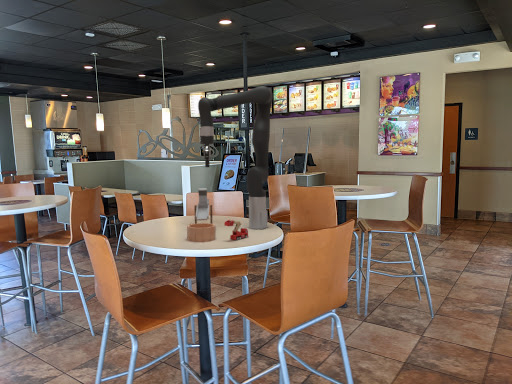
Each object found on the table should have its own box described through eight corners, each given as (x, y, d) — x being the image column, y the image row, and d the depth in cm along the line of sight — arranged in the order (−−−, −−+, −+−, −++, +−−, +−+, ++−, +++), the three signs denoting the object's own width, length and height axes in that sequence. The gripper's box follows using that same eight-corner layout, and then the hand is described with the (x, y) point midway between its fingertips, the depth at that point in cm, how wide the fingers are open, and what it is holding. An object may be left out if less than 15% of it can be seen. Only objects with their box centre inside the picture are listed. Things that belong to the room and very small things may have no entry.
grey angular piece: (198, 203, 205) (197, 182, 198) (210, 203, 205) (209, 182, 198) (196, 224, 189) (194, 201, 182) (208, 223, 189) (207, 201, 183)
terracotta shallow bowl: (220, 237, 185) (220, 224, 184) (203, 243, 174) (203, 229, 173) (199, 234, 191) (199, 222, 191) (181, 239, 180) (181, 226, 180)
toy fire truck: (249, 237, 186) (249, 217, 185) (229, 242, 175) (229, 221, 175) (243, 236, 188) (243, 216, 187) (224, 241, 178) (224, 220, 177)
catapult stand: (193, 229, 205) (192, 203, 204) (215, 229, 206) (215, 203, 204) (190, 235, 191) (190, 207, 190) (214, 234, 192) (214, 206, 190)
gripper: (200, 135, 216) (201, 166, 218) (199, 134, 203) (199, 167, 204) (214, 135, 216) (214, 166, 218) (213, 134, 203) (213, 167, 205)
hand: (207, 167), depth 211 cm, fingers closed
